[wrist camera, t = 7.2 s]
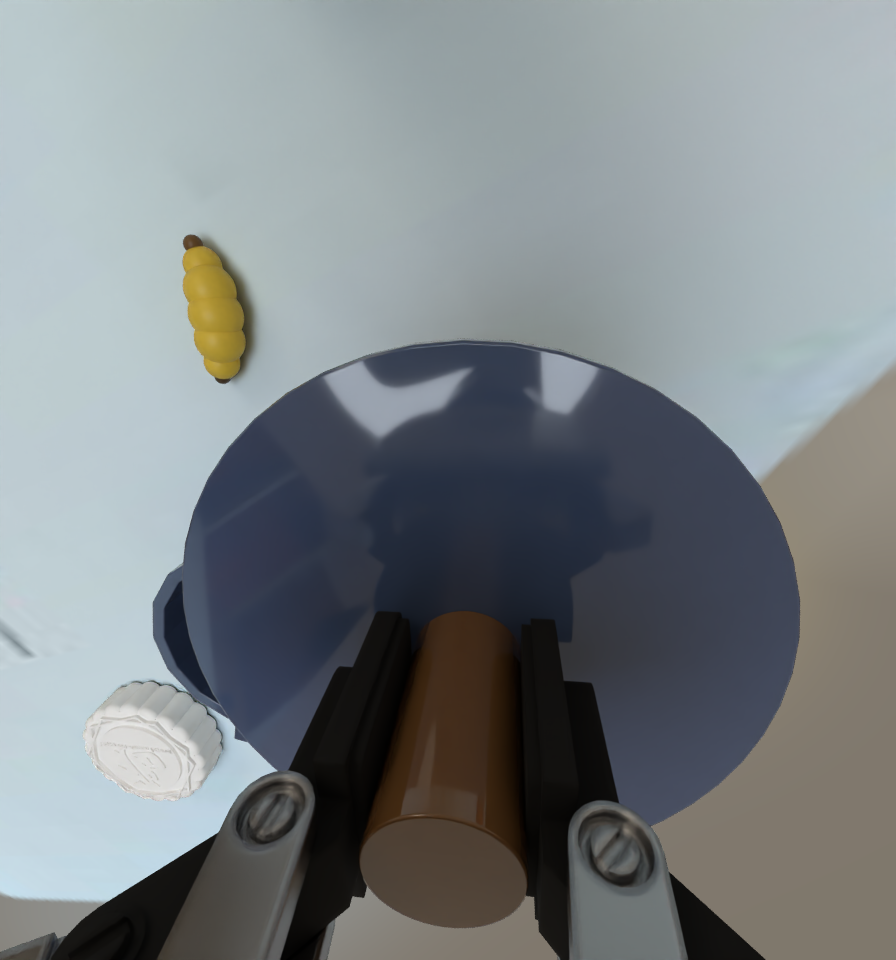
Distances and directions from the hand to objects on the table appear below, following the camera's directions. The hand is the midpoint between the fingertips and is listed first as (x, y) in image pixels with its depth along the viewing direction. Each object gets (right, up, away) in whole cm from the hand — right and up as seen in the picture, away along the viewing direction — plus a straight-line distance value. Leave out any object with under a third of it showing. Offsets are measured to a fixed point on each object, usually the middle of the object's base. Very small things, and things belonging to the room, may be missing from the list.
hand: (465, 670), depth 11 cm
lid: (0, 0, +1) cm, 1 cm away
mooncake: (-28, -20, +35) cm, 49 cm away
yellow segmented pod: (-15, +15, +20) cm, 29 cm away
